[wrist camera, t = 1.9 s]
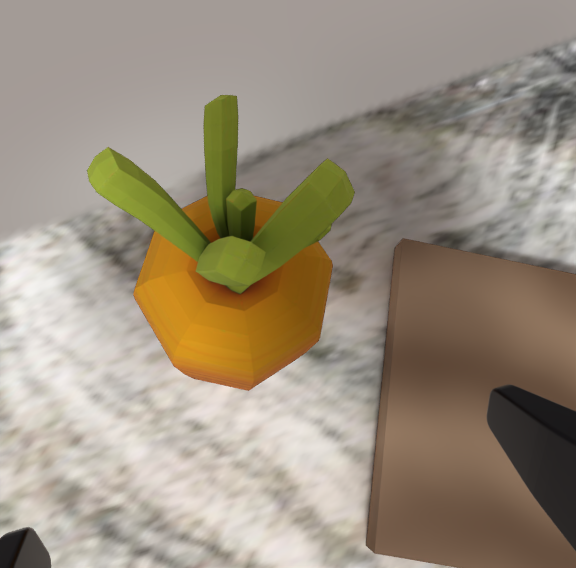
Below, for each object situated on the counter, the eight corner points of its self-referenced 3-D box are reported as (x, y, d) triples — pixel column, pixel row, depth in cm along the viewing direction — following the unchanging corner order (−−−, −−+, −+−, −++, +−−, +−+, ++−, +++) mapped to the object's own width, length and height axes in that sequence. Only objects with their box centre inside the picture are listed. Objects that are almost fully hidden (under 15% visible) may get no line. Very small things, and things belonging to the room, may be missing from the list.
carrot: (161, 365, 20) (-39, 197, 5) (226, 281, 21) (203, -13, 7) (249, 429, 19) (281, 428, 5) (309, 339, 21) (462, 145, 7)
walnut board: (633, 592, 19) (659, 602, 18) (366, 545, 18) (374, 553, 17) (608, 291, 23) (626, 284, 22) (394, 247, 23) (402, 238, 22)
